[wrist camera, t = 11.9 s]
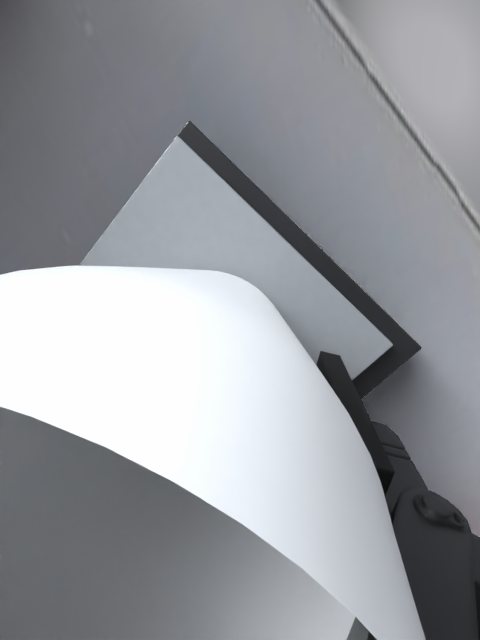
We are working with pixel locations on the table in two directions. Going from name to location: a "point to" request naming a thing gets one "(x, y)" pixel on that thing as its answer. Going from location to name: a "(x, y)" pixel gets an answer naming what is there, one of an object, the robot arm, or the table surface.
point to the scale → (251, 255)
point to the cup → (180, 469)
